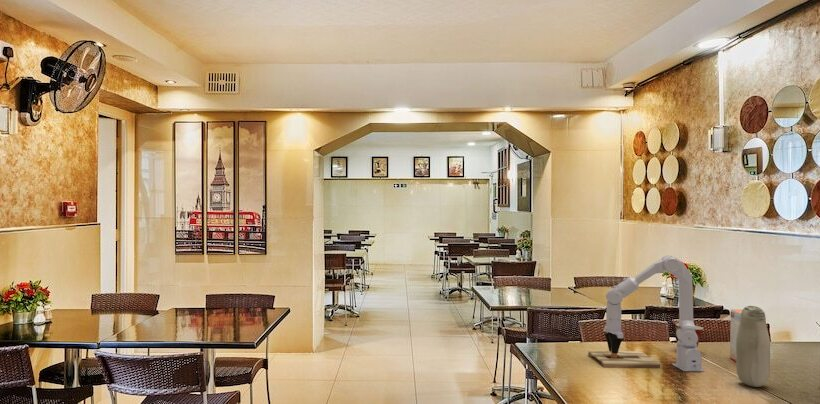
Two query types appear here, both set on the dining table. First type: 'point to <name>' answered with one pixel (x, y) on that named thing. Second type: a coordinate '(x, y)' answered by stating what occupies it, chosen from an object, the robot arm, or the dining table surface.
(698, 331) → the plastic cup
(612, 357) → the keyhole peg
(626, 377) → the dining table surface
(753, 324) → the grey bottle
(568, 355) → the dining table surface
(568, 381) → the dining table surface
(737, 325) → the cracker box
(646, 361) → the keyhole board
